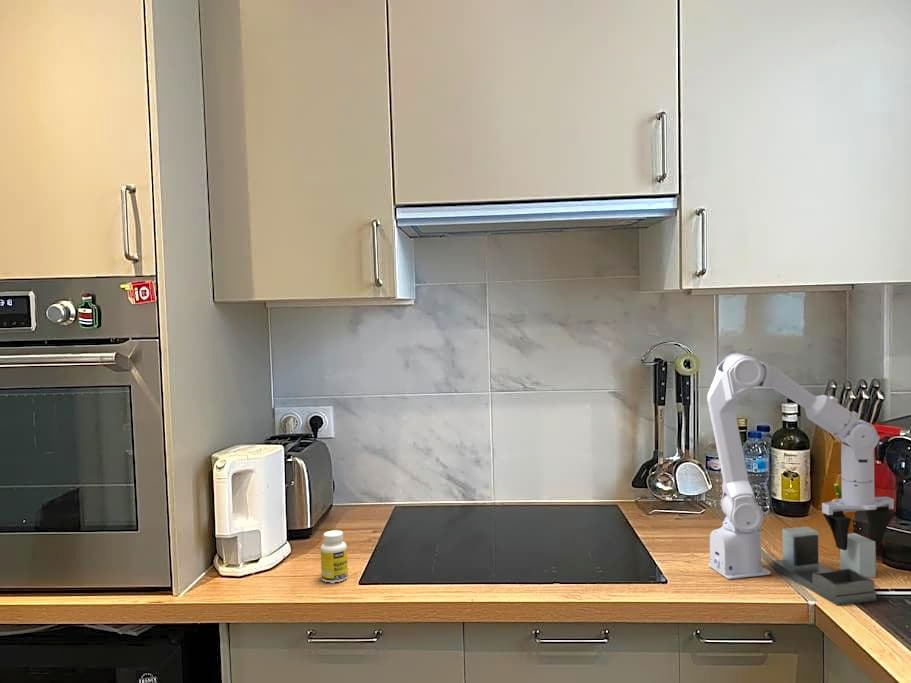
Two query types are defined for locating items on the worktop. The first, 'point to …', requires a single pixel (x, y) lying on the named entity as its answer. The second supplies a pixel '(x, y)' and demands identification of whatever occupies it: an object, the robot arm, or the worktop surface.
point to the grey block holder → (820, 570)
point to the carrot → (847, 514)
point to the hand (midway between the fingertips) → (858, 546)
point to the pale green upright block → (859, 555)
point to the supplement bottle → (334, 557)
